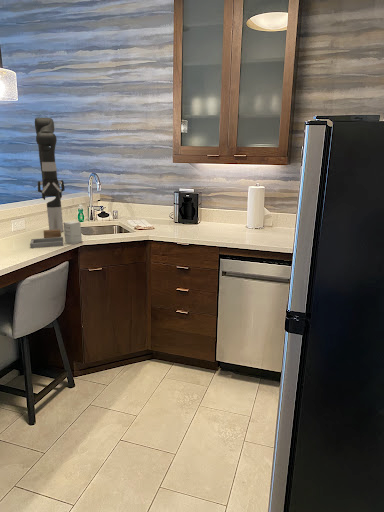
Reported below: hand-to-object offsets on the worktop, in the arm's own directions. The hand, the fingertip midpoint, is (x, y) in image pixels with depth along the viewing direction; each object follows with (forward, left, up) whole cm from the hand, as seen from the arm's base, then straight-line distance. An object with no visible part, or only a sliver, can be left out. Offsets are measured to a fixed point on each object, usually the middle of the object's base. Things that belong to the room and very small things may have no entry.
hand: (52, 199), depth 227 cm
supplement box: (-5, +10, -27) cm, 29 cm away
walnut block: (-17, -2, -27) cm, 32 cm away
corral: (-5, -5, -27) cm, 28 cm away
